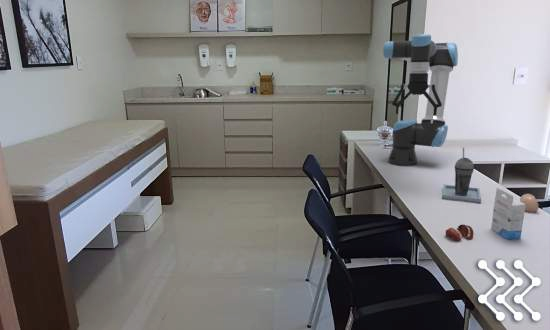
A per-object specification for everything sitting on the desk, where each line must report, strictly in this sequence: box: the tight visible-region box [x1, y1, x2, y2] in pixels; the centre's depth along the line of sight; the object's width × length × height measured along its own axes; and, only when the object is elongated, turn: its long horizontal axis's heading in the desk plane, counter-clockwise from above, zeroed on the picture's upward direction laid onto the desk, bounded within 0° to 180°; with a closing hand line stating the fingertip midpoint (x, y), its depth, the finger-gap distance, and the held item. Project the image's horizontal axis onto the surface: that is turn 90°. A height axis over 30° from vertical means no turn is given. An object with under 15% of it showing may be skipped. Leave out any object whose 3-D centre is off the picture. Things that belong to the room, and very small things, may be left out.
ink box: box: [490, 187, 526, 240], centre depth 126 cm, size 9×5×15 cm, turn 5°
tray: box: [442, 184, 482, 204], centre depth 163 cm, size 14×14×2 cm
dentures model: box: [445, 223, 474, 243], centre depth 126 cm, size 6×4×8 cm
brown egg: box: [519, 193, 539, 213], centre depth 147 cm, size 7×5×5 cm
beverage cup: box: [454, 147, 475, 196], centre depth 160 cm, size 7×7×20 cm
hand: (415, 122), depth 171 cm, fingers open, 13 cm apart
